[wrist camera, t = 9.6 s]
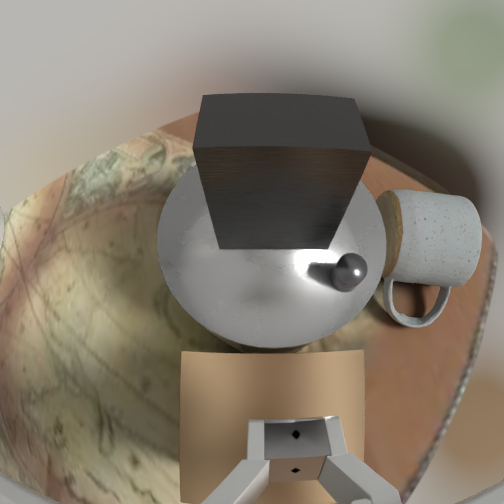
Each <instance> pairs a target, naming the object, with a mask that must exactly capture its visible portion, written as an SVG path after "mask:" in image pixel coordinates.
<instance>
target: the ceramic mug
mask: <svg viewBox="0 0 504 504" xmlns="http://www.w3.org/2000/svg"><path fill="white" fill-rule="evenodd" d="M376 204H377V206H378V208H379V211H380V213H381V216H382V220H383V223H384V227H385V234H386V258H385V264H384V269H383V272H382V275H381V277H383V278H384V286H383V299H384V305H385V308H386V310H387V312H388V314H389V315H390V316H391V317H392V319H394V320H395V321H396V322H398V323H400V324H402V325H404V326H407V327H411V328H421V327H425V326H428V325H429V324H431V323H432V322H433V321H434V320H435V319H437V317H438V316H439V315H440V314H441V312H442V311H443V309H444V307H445V305H446V303H447V300H448V297H449V294H450V290H451V288H452V287H459V286H462V285H463V284H465V283H466V282H467V281H468V280H469V279H470V277H471V276H472V274H473V272H474V271H475V269H476V266H477V263H478V260H479V256H480V251H481V243H482V230H481V223H480V218H479V215H478V212H477V210H476V208H475V207H474V205H473V204H472V203H471V202H470V201H469V200H468V199H467V198H465V197H461V196H453V195H445V194H438V193H429V192H420V191H414V190H402V189H399V190H389V191H385V192H384V193H382V194H381V195H380V196H379V197H378V199H377V200H376ZM393 281H399V282H408V283H421V284H426V285H433V286H440V291H439V295H438V298H437V300H436V303H435V305H434V307H433V308H432V310H431V311H430V312H429V313H428V314H427V315H426V316H425V317H421V318H415V317H408V316H405V315H404V314H403V313H398V312H396V310H395V308H394V305H393V302H392V288H393V286H392V284H393Z"/></svg>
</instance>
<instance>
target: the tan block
mask: <svg viewBox="0 0 504 504" xmlns="http://www.w3.org/2000/svg"><path fill="white" fill-rule="evenodd" d="M336 415H337V416H339V418H340V421H341V426H342V430H343V434H344V438H345V442H346V447H347V451H348V453H353V454H354V455H355V456H356V457H358V458H359V459H360V460H361V461H362V462H363V460H364V437H365V374H364V350H352V351H337V352H317V353H285V354H241V353H208V352H189V351H182V353H181V376H180V416H179V459H180V496H181V502H183V503H190V504H201V503H202V502H203V501H204V500H205V499H206V498H207V497H208V496H209V495H210V494H211V493H212V492H213V491H214V490H215V489H216V488H217V487H218V486H219V485H220V483H221V482H222V481H223V480H224V479H225V478H226V477H227V476H228V475H229V474H230V473H231V471H232V470H233V469H234V468H235V467H236V466H237V465H238V464H239V462H240V461H241V460H245V459H247V436H248V421H249V419H255V420H286V419H298V418H312V417H327V416H336ZM330 503H337V502H336V501H335V500H334V499H333V498H332V497H331V495H330V494H329V493H328V492H327V491H326V490H325V489H324V488H323V486H322V485H321V484H320V483H319V482H318V480H309V481H290V482H274V483H268V485H267V486H266V488H265V489H264V491H263V492H262V494H261V495H260V496H259V498H258V499H257V500H256V502H255V503H254V504H330Z"/></svg>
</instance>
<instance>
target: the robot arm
mask: <svg viewBox="0 0 504 504" xmlns="http://www.w3.org/2000/svg"><path fill="white" fill-rule="evenodd" d="M3 235H4V215H3V212H2V209H1V208H0V249H1V245H2V241H3ZM309 480H318V482H319V483H320V484H321V485H322V486H323V488H324V489H325V490H326V491H327V492H328V493H329V494H330V495H331V497H332V498H333V499H334V500H335V501H336V502H337V503H338V504H402V503H401V499H400V496H399V492H398V490H397V489H396V488H394V487H393V486H392V485H391V484H389V483H388V482H387V481H386V480H384V479H383V478H382V477H381V476H379V475H378V474H377V473H376V472H374V471H373V470H372V469H371V468H370V467H368V466H367V465H366V464H365V463H364V462H362V461H361V460H360V459H359V458H358V457H356V456H355V455H354V454H353V453H348V451H347V447H346V442H345V438H344V434H343V430H342V426H341V421H340V418H339V416H337V415H336V416H327V417H312V418H298V419H286V420H255V419H249V421H248V436H247V459H245V460H241V461H240V462H239V464H238V465H237V466H236V467H235V468H234V469H233V470H232V471H231V473H230V474H229V475H228V476H227V477H226V478H225V479H224V480H223V481H222V482H221V483H220V485H219V486H218V487H217V488H216V489H215V490H214V491H213V492H212V493H211V494H210V495H209V496H208V497H207V498H206V499H205V500H204V501H203V502H202V503H201V504H254V503H255V502H256V500H257V499H258V498H259V496H260V495H261V494H262V492H263V491H264V489H265V488H266V486H267V485H268V483H274V482H290V481H309ZM0 504H62V503H59V502H57V501H55V500H53V499H51V498H49V497H46V496H44V495H42V494H40V493H38V492H36V491H34V490H32V489H31V488H29V487H27V486H25V485H23V484H21V483H20V482H18V481H16V480H14V479H13V478H11V477H9V476H7V475H6V474H4V473H3V472H1V471H0ZM456 504H504V479H503V480H501V481H499V482H497V483H496V484H494V485H492V486H490V487H488V488H486V489H485V490H483V491H481V492H479V493H477V494H475V495H473V496H471V497H469V498H467V499H464V500H462V501H460V502H458V503H456Z"/></svg>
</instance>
